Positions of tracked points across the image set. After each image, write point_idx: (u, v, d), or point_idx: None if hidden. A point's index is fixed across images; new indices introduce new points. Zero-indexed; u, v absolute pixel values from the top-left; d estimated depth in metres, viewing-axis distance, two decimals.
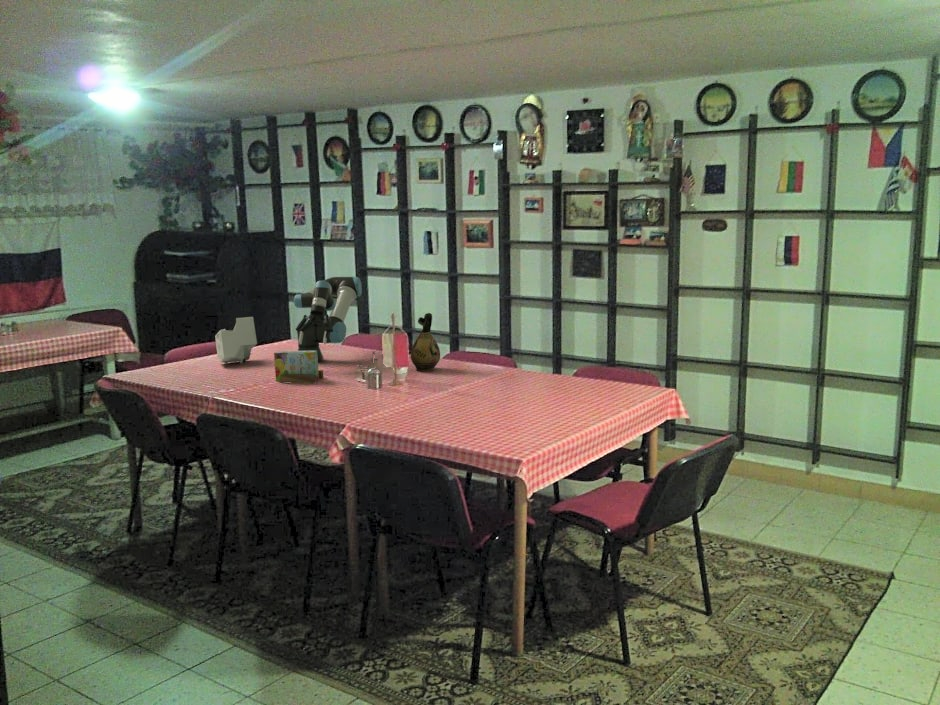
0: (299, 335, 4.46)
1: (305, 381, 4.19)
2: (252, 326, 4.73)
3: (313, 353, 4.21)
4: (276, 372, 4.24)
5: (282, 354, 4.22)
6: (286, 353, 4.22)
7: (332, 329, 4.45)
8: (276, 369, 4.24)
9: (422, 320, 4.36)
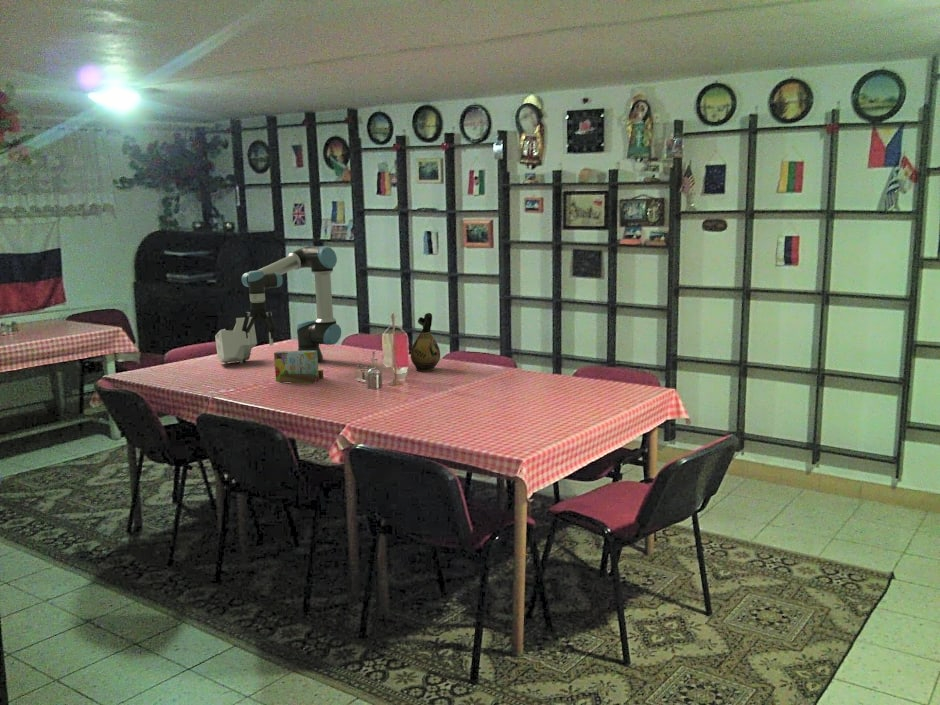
0: (247, 337, 4.26)
1: (305, 381, 4.19)
2: (252, 326, 4.73)
3: (313, 353, 4.21)
4: (276, 372, 4.24)
5: (282, 354, 4.22)
6: (286, 353, 4.22)
7: (276, 329, 4.23)
8: (276, 369, 4.24)
9: (422, 320, 4.36)
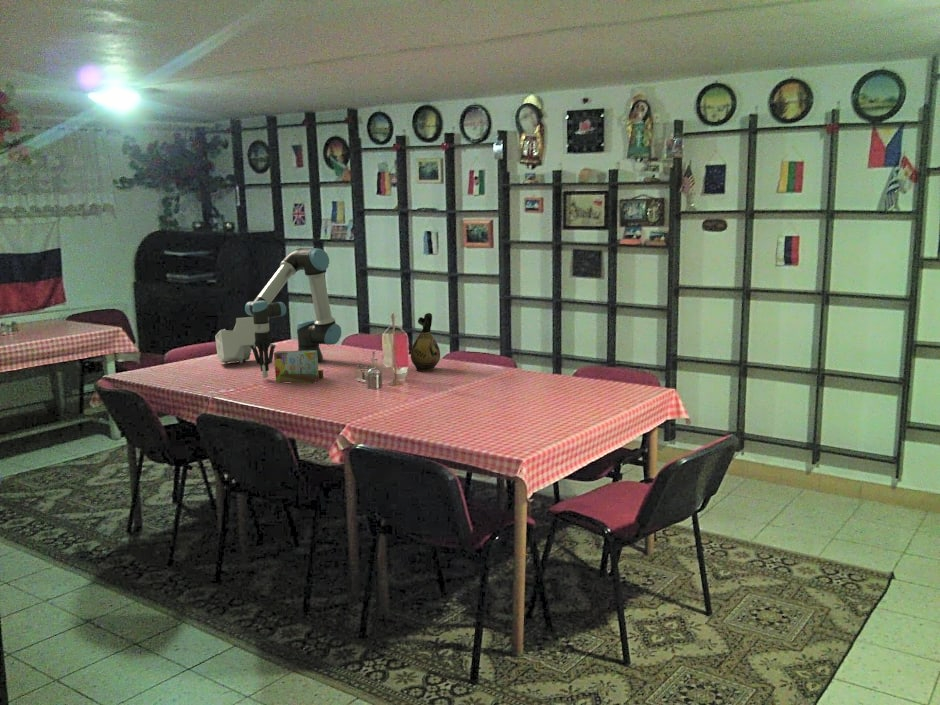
0: None
1: (305, 381, 4.19)
2: (252, 326, 4.73)
3: (313, 353, 4.21)
4: (276, 372, 4.24)
5: (282, 354, 4.22)
6: (286, 353, 4.22)
7: (270, 362, 4.27)
8: (276, 369, 4.24)
9: (422, 320, 4.36)
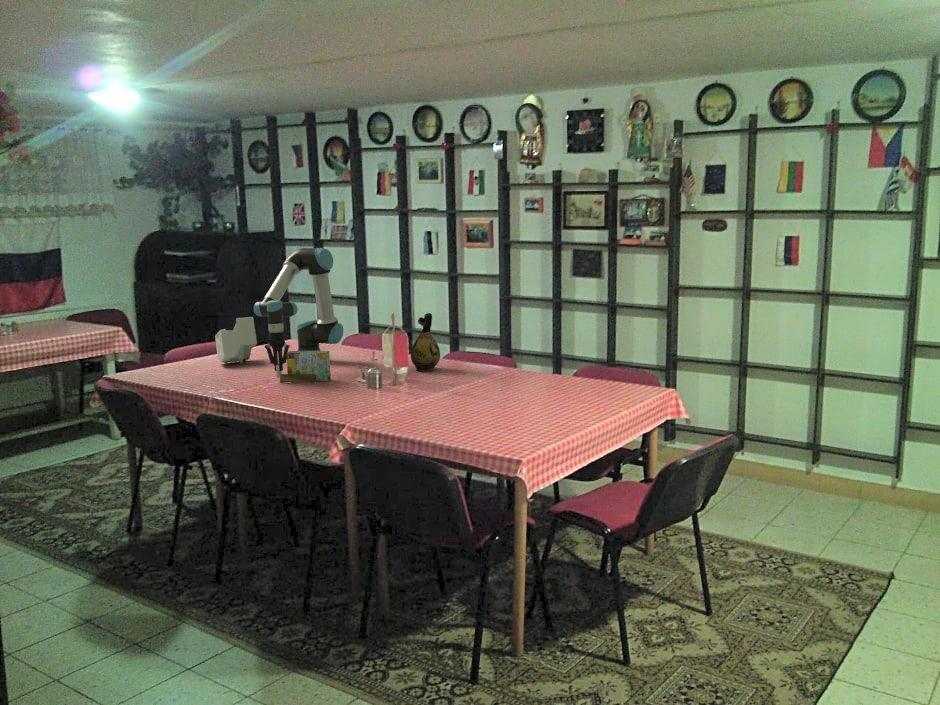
0: None
1: (305, 381, 4.19)
2: (252, 326, 4.73)
3: (325, 353, 4.18)
4: (288, 372, 4.23)
5: (294, 354, 4.21)
6: (298, 353, 4.21)
7: (284, 362, 4.25)
8: (288, 369, 4.23)
9: (422, 320, 4.36)
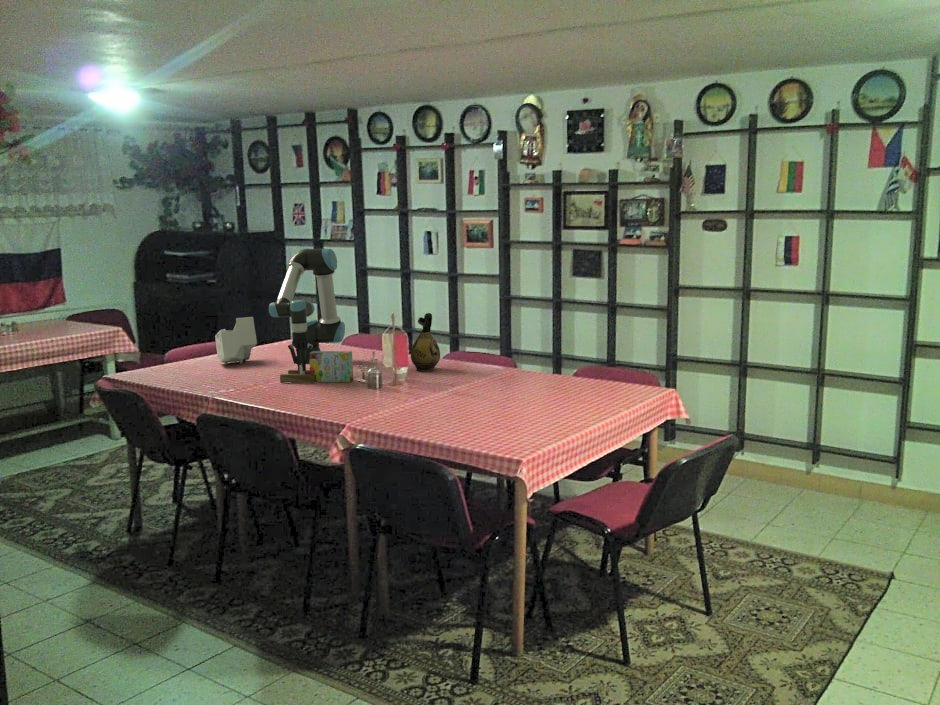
0: (299, 369, 4.24)
1: (305, 381, 4.19)
2: (252, 326, 4.73)
3: (347, 354, 4.15)
4: (311, 372, 4.21)
5: (317, 354, 4.18)
6: (321, 353, 4.18)
7: (308, 362, 4.23)
8: (311, 369, 4.20)
9: (422, 320, 4.36)
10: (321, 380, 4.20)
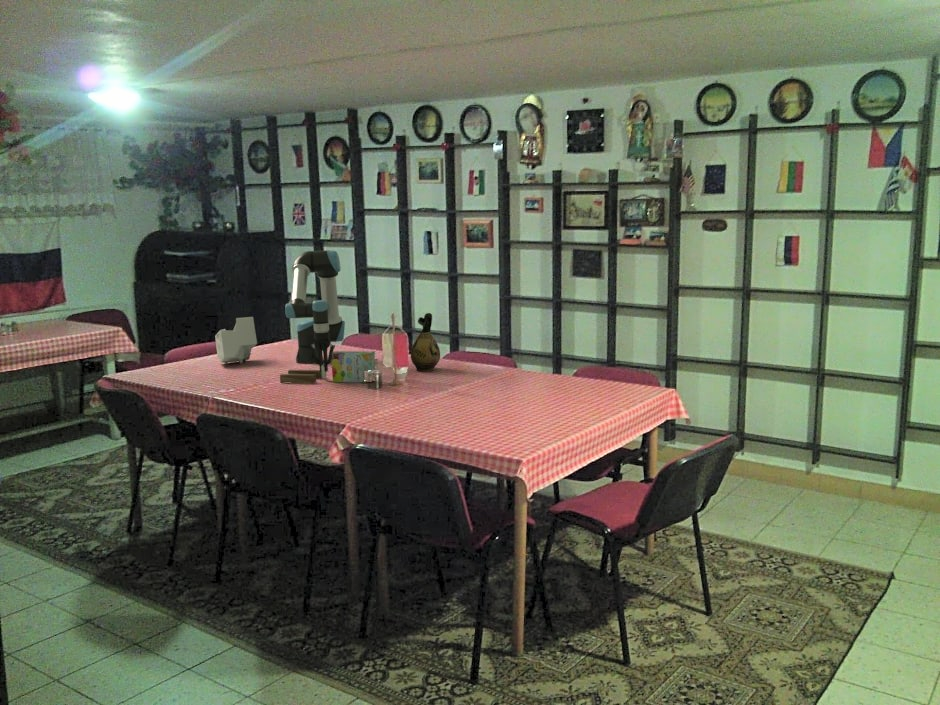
0: (321, 369, 4.22)
1: (305, 381, 4.19)
2: (252, 326, 4.73)
3: (370, 354, 4.13)
4: (333, 372, 4.19)
5: (339, 354, 4.16)
6: (343, 353, 4.16)
7: (330, 362, 4.21)
8: (333, 369, 4.18)
9: (422, 320, 4.36)
10: (343, 380, 4.18)
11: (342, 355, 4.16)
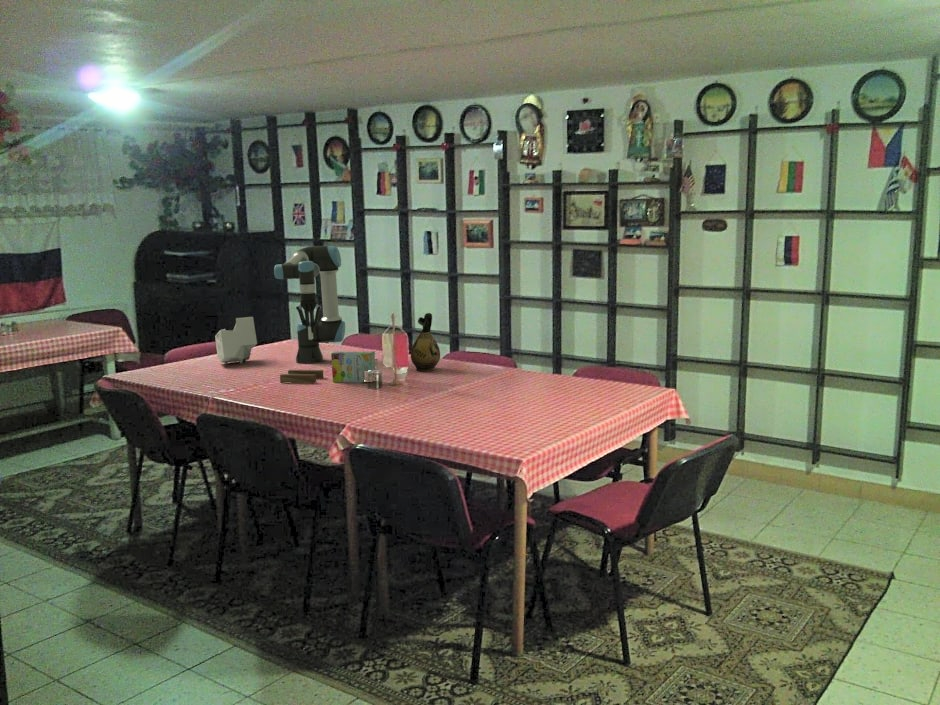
0: (307, 331, 4.22)
1: (305, 381, 4.19)
2: (252, 326, 4.73)
3: (370, 354, 4.13)
4: (333, 373, 4.19)
5: (339, 355, 4.16)
6: (343, 354, 4.16)
7: (316, 323, 4.21)
8: (333, 370, 4.18)
9: (422, 320, 4.36)
10: (343, 381, 4.18)
11: (342, 355, 4.16)
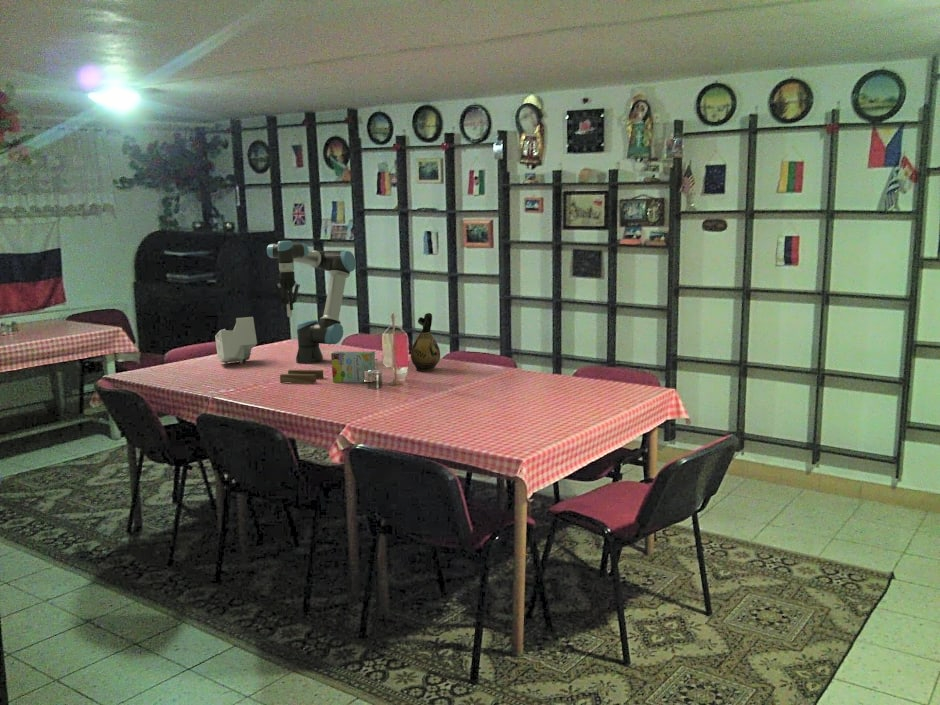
0: (286, 308, 4.37)
1: (305, 381, 4.19)
2: (252, 326, 4.73)
3: (370, 354, 4.13)
4: (333, 373, 4.19)
5: (339, 355, 4.16)
6: (343, 354, 4.16)
7: (295, 301, 4.36)
8: (333, 370, 4.18)
9: (422, 320, 4.36)
10: (343, 381, 4.18)
11: (342, 355, 4.16)
